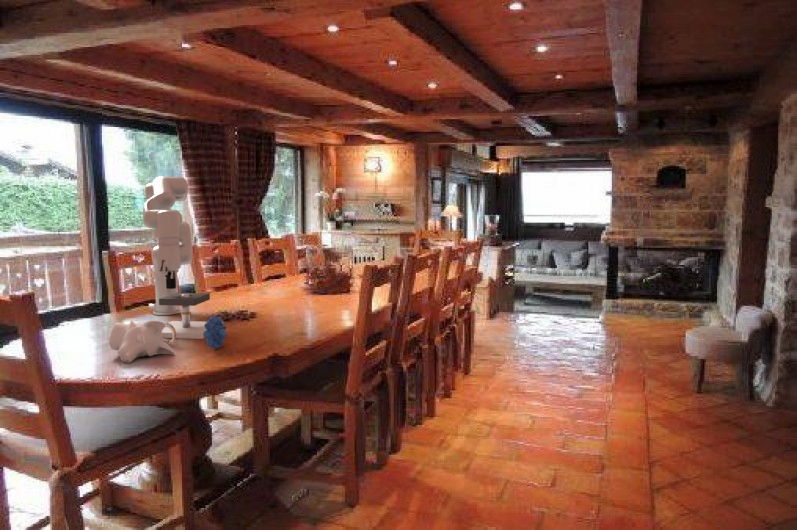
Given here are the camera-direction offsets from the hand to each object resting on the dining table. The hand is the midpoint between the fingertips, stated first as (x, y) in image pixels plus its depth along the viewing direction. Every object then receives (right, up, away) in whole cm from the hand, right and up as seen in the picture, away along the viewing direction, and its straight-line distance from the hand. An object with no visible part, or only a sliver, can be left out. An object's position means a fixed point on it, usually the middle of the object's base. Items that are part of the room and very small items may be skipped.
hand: (171, 288), depth 215 cm
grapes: (+26, -21, -24) cm, 41 cm away
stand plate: (+5, -17, +2) cm, 18 cm away
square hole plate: (+5, -6, 0) cm, 8 cm away
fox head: (+4, -22, -34) cm, 41 cm away
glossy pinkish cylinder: (+5, -15, +1) cm, 16 cm away
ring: (+6, -20, -17) cm, 27 cm away
